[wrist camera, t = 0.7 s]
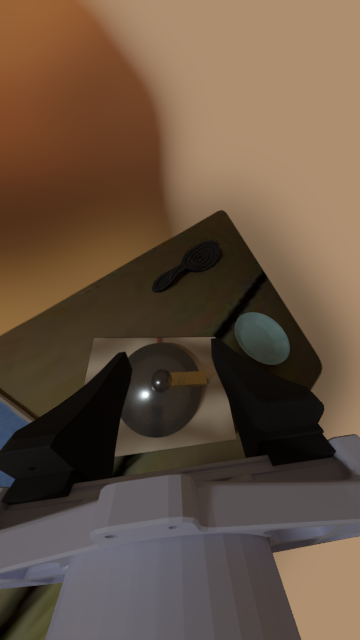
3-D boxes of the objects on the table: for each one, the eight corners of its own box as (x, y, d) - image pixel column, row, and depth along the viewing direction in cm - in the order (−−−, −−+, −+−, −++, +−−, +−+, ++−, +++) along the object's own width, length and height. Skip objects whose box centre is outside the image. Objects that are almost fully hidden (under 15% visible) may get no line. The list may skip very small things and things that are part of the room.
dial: (109, 442, 19) (97, 453, 15) (120, 345, 25) (114, 333, 21) (206, 430, 21) (220, 436, 17) (194, 344, 28) (202, 333, 23)
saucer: (224, 351, 30) (229, 347, 28) (236, 309, 36) (241, 303, 34) (280, 377, 29) (289, 375, 27) (282, 330, 36) (290, 325, 34)
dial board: (231, 437, 23) (237, 439, 22) (73, 459, 19) (66, 464, 18) (212, 340, 31) (215, 336, 29) (96, 341, 27) (93, 337, 25)
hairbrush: (140, 273, 33) (206, 232, 44) (141, 284, 37) (202, 243, 47) (167, 295, 32) (229, 247, 42) (166, 305, 35) (223, 257, 45)
